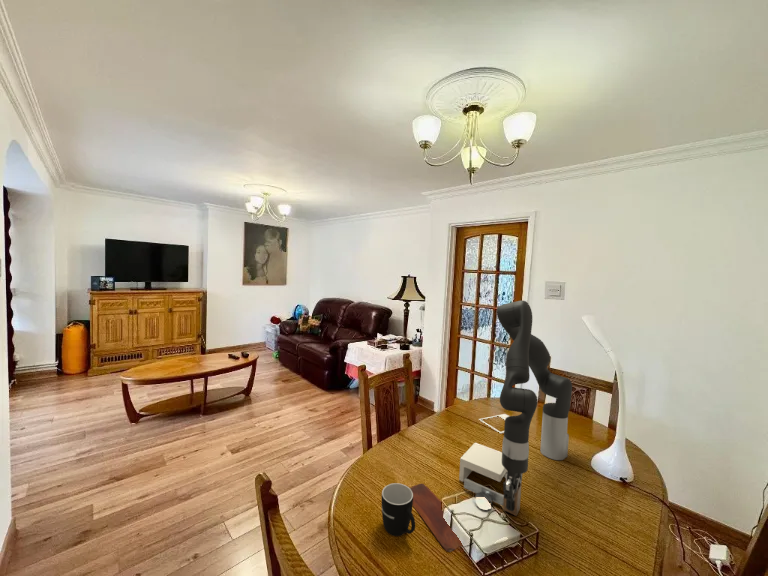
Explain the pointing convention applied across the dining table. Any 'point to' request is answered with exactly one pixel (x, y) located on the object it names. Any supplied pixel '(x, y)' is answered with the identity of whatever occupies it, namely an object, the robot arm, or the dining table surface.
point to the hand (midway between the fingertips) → (512, 505)
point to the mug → (397, 509)
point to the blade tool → (495, 495)
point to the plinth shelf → (482, 462)
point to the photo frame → (495, 416)
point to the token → (484, 496)
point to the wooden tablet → (434, 516)
